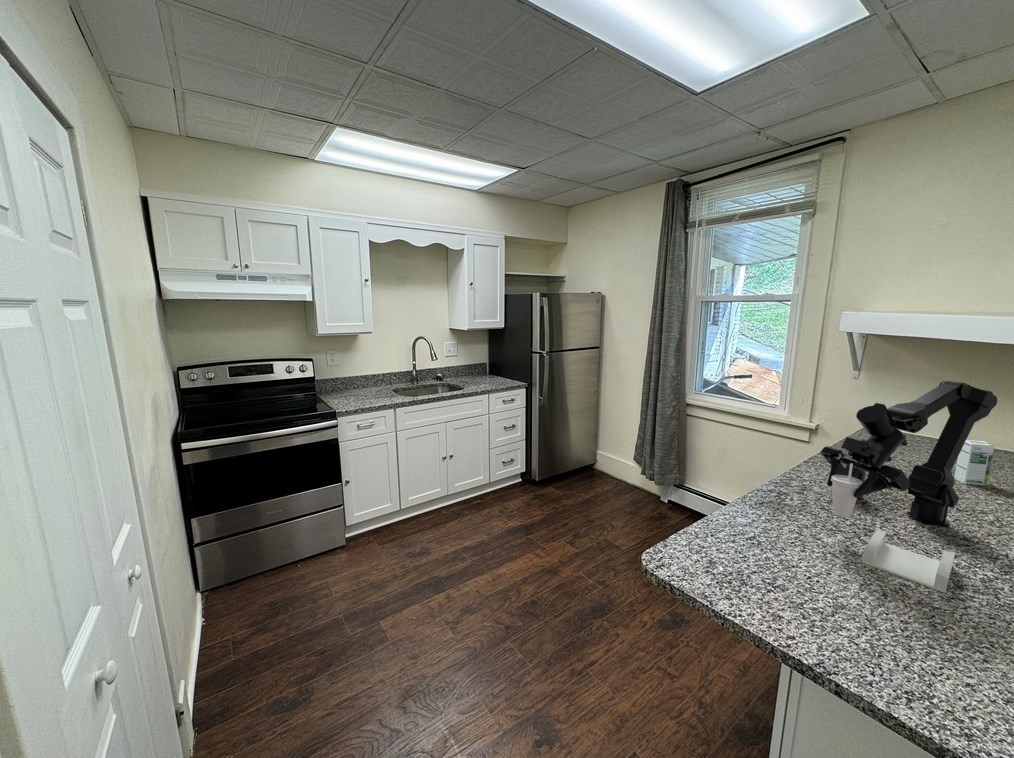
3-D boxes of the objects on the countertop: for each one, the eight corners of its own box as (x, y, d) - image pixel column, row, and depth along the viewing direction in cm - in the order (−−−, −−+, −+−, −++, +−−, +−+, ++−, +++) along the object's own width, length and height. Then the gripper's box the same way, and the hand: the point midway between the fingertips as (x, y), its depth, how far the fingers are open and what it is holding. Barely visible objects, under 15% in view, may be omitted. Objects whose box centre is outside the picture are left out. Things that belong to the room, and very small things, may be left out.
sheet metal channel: (874, 541, 105) (877, 529, 105) (952, 567, 95) (955, 553, 94) (861, 562, 96) (864, 548, 96) (945, 593, 86) (948, 578, 85)
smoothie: (863, 521, 103) (871, 469, 101) (834, 518, 105) (842, 467, 102) (848, 509, 110) (855, 459, 107) (821, 507, 111) (828, 458, 108)
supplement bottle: (856, 491, 134) (862, 457, 132) (867, 501, 127) (873, 464, 125) (831, 488, 136) (836, 454, 134) (840, 497, 130) (845, 461, 128)
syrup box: (964, 483, 140) (972, 443, 138) (953, 477, 146) (961, 438, 143) (986, 486, 138) (995, 445, 136) (974, 479, 144) (983, 440, 141)
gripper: (829, 417, 113) (793, 459, 112) (909, 438, 95) (866, 488, 94) (847, 442, 116) (812, 483, 116) (928, 467, 98) (886, 515, 98)
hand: (841, 490), depth 106 cm, fingers closed on smoothie, 6 cm apart
